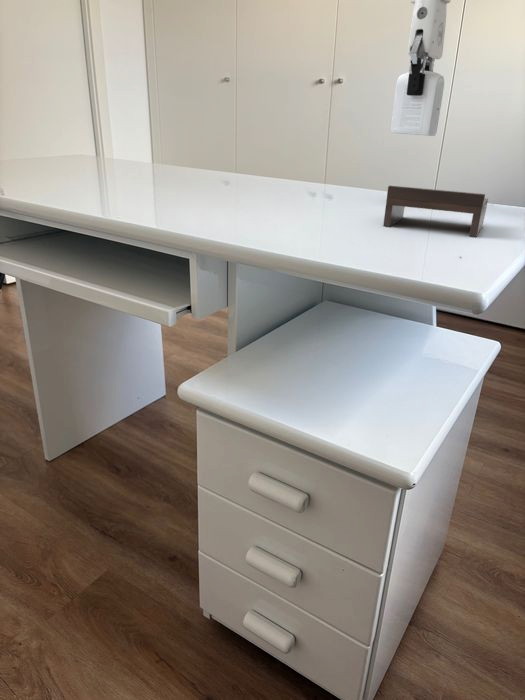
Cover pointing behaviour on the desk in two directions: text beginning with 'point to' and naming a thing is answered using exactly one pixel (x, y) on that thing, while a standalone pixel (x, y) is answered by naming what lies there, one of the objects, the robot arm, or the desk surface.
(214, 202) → the desk surface
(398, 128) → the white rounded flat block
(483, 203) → the shelf
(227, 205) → the desk surface
